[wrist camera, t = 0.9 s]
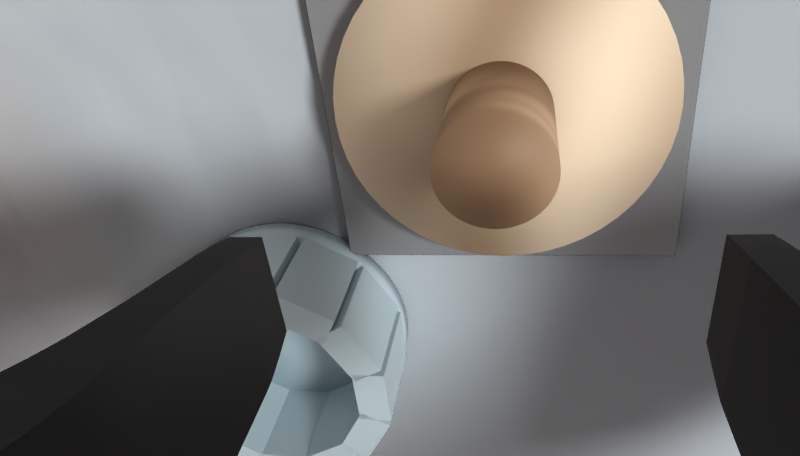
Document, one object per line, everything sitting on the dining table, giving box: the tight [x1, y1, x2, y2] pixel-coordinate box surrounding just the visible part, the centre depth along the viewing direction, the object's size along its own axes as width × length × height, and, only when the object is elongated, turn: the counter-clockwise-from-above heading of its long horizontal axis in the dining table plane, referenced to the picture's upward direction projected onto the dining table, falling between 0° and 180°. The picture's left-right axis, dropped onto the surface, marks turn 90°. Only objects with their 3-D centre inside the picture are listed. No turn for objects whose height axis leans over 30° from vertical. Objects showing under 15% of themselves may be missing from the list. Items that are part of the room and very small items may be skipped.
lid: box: [333, 0, 684, 256], centre depth 15 cm, size 9×9×4 cm
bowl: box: [223, 223, 408, 456], centre depth 21 cm, size 8×8×4 cm
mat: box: [306, 0, 711, 256], centre depth 17 cm, size 10×10×1 cm
